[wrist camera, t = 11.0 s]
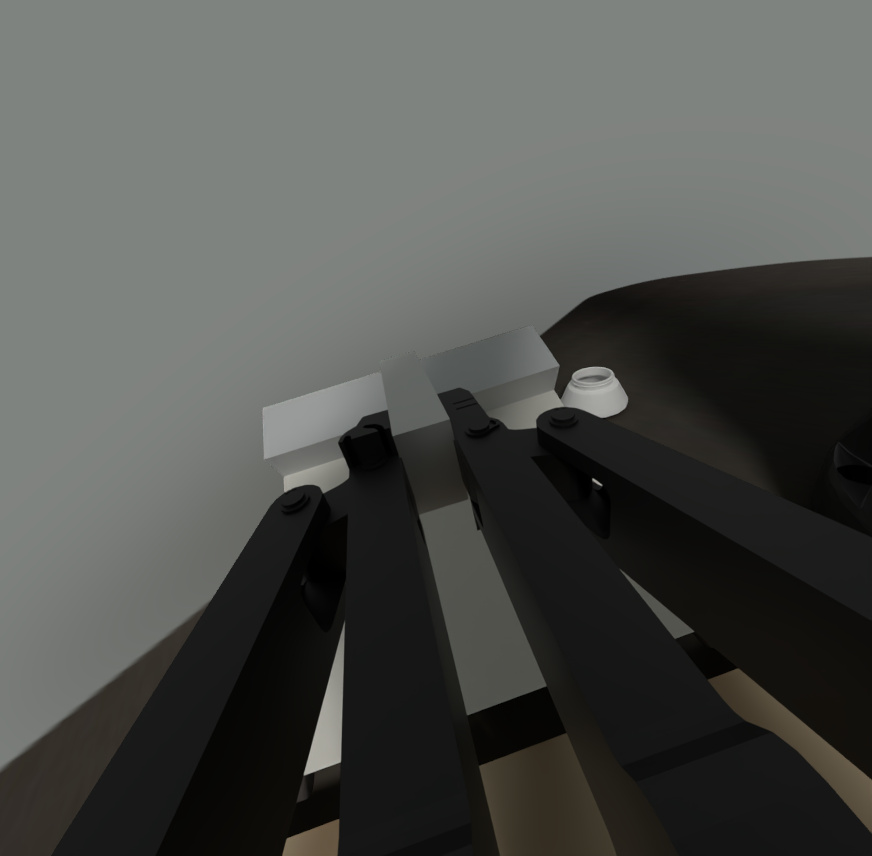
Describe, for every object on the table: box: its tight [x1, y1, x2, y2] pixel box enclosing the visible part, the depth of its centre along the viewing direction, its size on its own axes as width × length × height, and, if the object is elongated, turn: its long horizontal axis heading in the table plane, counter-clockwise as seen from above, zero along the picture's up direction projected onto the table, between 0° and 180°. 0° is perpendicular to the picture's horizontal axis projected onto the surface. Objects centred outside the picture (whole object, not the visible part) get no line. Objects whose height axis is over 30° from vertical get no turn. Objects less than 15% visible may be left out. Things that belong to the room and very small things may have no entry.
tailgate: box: [263, 325, 695, 775], centre depth 15 cm, size 14×3×14 cm
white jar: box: [561, 367, 628, 418], centre depth 29 cm, size 5×3×5 cm
